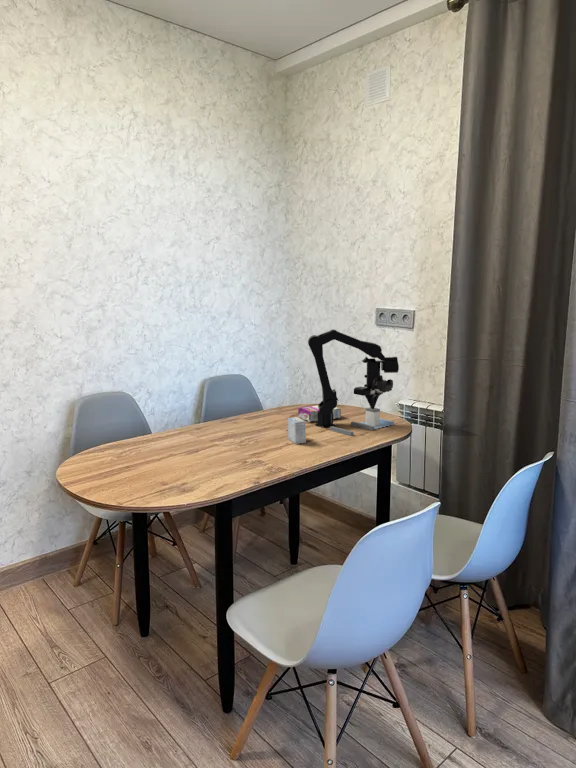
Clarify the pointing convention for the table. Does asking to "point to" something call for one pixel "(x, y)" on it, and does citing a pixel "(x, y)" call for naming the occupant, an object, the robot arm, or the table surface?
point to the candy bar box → (315, 413)
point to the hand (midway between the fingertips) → (372, 408)
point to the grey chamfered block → (372, 416)
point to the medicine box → (296, 430)
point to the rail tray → (362, 426)
